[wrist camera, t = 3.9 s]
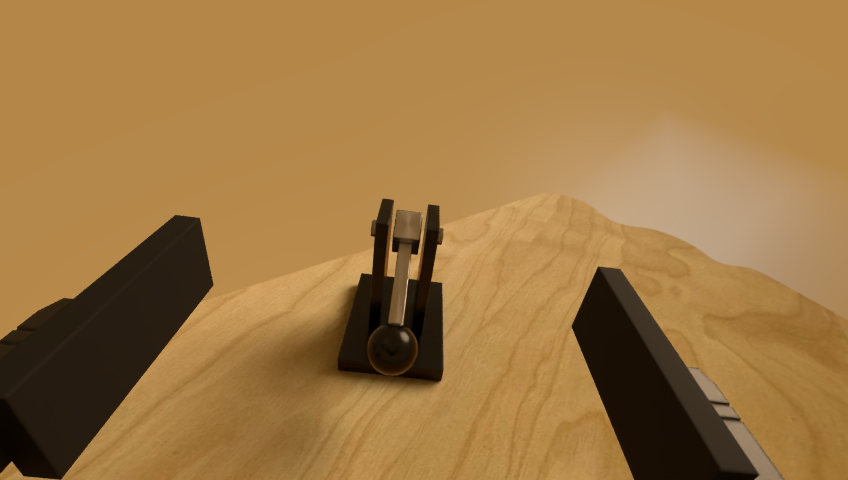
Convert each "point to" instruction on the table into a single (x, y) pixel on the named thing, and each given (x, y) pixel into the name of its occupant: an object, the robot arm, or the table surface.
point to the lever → (398, 303)
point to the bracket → (419, 308)
